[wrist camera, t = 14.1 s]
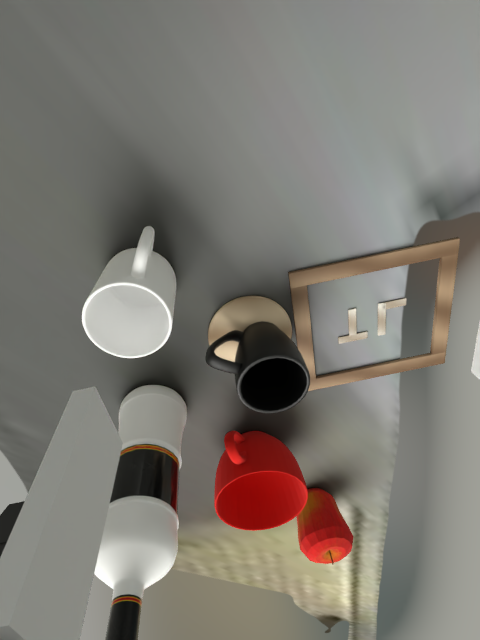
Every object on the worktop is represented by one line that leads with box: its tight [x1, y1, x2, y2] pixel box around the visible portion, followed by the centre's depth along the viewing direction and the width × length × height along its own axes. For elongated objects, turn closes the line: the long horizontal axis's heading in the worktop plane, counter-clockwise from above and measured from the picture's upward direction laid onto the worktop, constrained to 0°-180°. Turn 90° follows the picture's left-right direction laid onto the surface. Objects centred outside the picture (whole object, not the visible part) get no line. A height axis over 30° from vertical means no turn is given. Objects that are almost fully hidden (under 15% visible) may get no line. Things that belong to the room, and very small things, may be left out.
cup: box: [82, 226, 176, 358], centre depth 39 cm, size 8×12×10 cm
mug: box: [206, 321, 310, 413], centre depth 45 cm, size 8×12×10 cm
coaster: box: [208, 296, 292, 362], centre depth 49 cm, size 11×11×1 cm
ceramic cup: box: [214, 431, 308, 530], centre depth 55 cm, size 13×17×10 cm
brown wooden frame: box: [288, 238, 460, 391], centre depth 50 cm, size 19×21×1 cm
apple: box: [297, 488, 353, 564], centre depth 63 cm, size 9×8×12 cm
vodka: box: [94, 385, 187, 640], centre depth 41 cm, size 9×9×30 cm
